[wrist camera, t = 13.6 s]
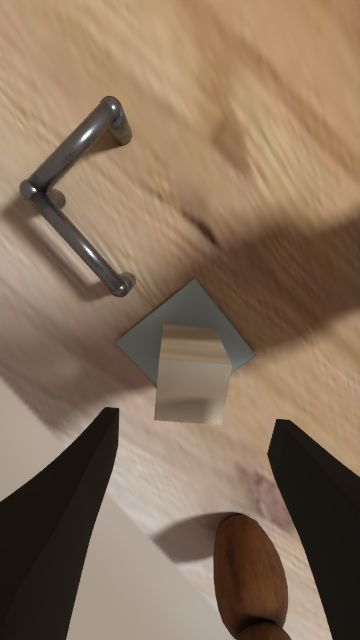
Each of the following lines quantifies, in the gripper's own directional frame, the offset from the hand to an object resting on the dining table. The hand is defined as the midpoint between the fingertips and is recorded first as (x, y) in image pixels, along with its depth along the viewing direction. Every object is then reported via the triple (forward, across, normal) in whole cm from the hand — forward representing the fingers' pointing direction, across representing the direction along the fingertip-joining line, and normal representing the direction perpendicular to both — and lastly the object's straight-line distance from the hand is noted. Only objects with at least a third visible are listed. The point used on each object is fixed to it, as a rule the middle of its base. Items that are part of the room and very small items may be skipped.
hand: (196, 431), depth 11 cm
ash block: (+9, 0, 0) cm, 9 cm away
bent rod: (+9, +5, -10) cm, 14 cm away
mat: (+9, 0, 0) cm, 9 cm away
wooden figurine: (+10, -8, +21) cm, 24 cm away
